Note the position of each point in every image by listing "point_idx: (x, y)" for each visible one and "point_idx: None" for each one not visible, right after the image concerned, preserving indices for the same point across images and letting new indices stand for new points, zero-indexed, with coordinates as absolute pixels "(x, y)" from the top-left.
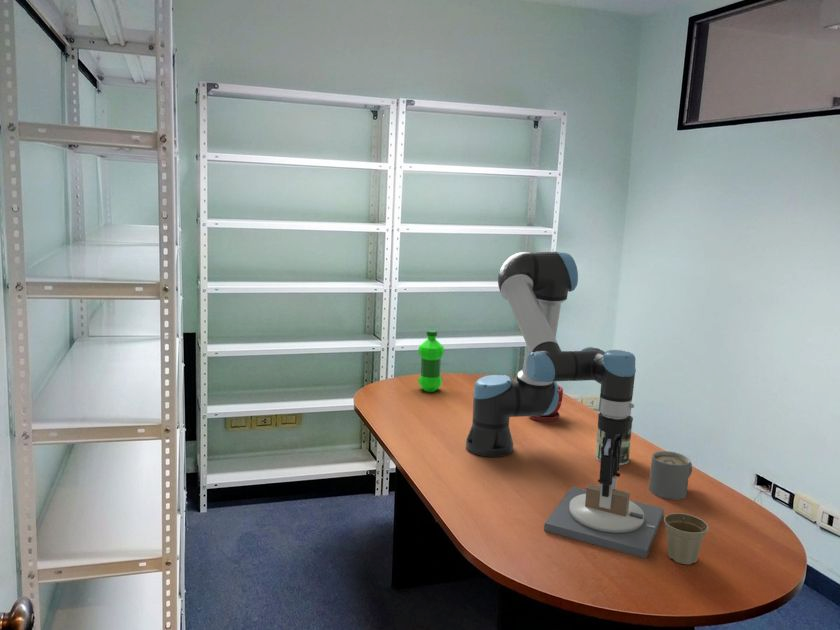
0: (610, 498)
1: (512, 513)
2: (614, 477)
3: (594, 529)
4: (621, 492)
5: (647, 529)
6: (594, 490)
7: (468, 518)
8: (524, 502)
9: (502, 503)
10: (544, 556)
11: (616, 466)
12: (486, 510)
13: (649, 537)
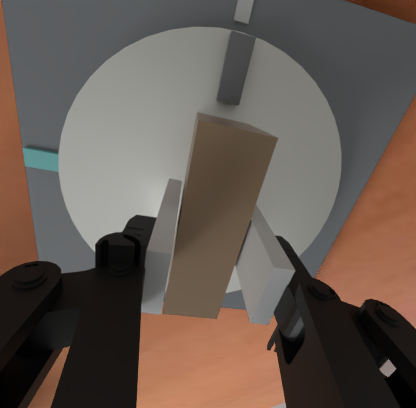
0: (262, 218)
1: (227, 348)
2: (154, 264)
3: None
4: (210, 174)
5: (274, 20)
6: (225, 290)
7: (268, 387)
8: (169, 341)
9: (192, 366)
10: (390, 284)
11: (137, 369)
12: (230, 377)
13: (344, 15)
